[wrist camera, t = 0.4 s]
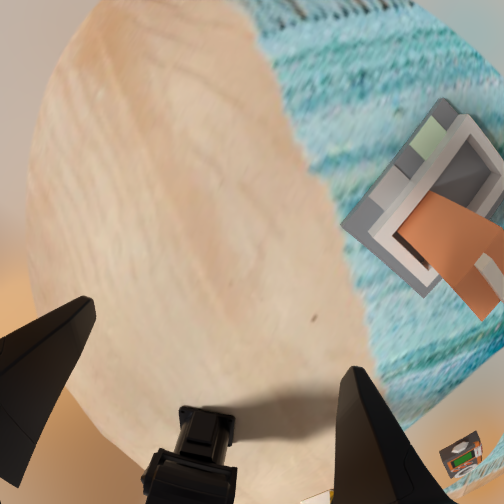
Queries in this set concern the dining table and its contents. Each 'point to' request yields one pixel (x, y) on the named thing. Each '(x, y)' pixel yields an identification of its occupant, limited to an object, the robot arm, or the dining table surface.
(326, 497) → the medicine bottle
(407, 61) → the dining table surface
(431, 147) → the grey framed base plate
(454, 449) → the electronic device
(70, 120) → the dining table surface
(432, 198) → the orange juice carton
